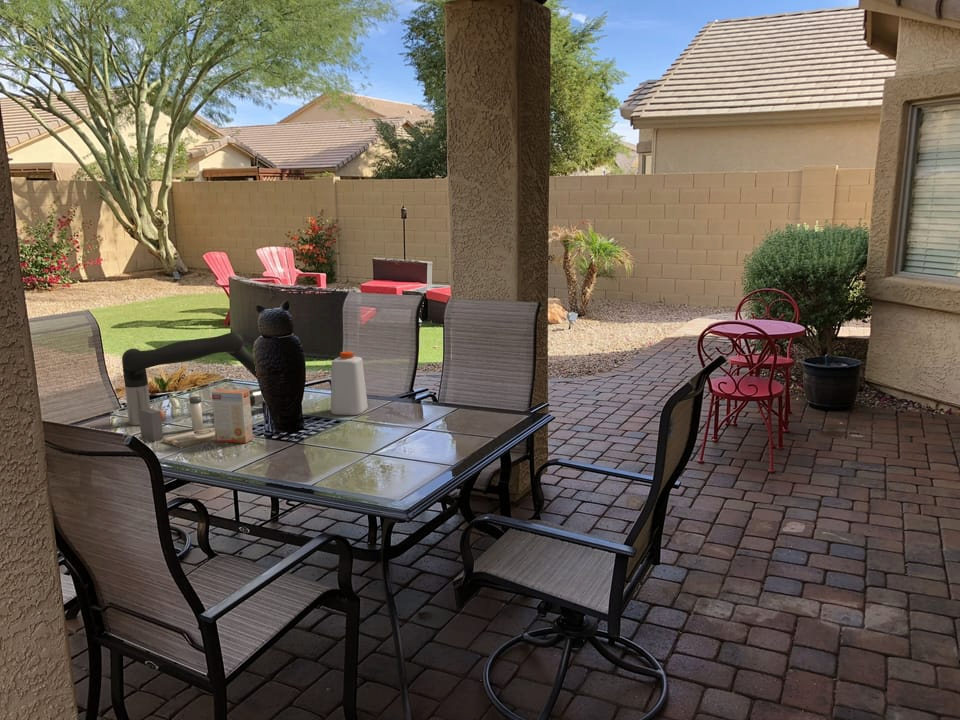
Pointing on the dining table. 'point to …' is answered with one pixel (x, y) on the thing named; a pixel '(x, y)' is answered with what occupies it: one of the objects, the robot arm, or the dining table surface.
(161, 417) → the button
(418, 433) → the dining table surface
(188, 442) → the beige board with ring
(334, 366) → the plastic bottle
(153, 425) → the button panel
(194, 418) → the white shaker grey cap
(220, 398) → the cracker box
